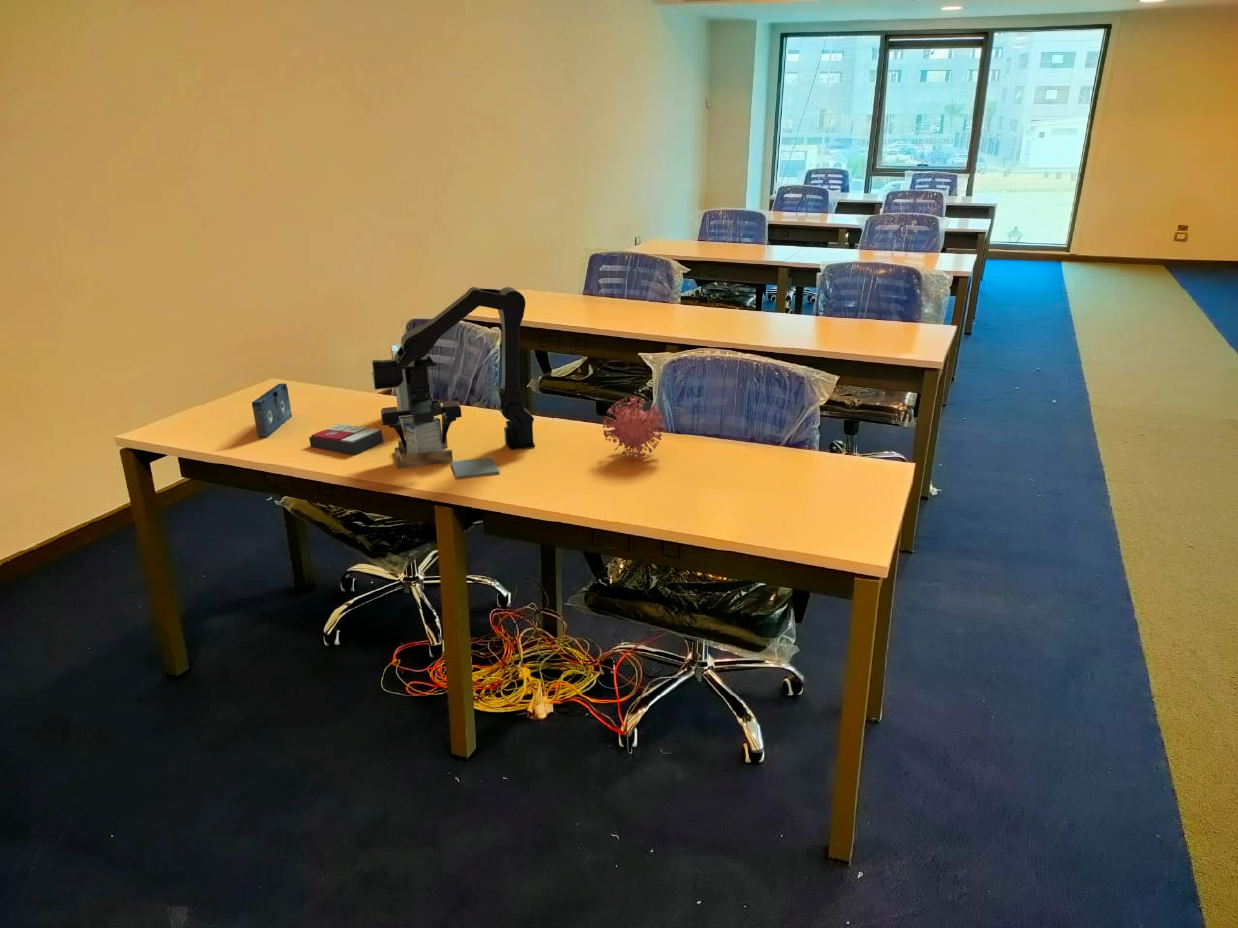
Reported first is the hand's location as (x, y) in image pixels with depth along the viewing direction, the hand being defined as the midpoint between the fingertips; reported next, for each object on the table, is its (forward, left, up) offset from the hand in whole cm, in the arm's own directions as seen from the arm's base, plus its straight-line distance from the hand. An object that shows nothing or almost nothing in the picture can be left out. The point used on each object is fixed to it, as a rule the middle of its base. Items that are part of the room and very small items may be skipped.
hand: (424, 445), depth 212 cm
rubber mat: (-10, +12, -3) cm, 16 cm away
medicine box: (0, 0, -2) cm, 2 cm away
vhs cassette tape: (+37, -37, -3) cm, 52 cm away
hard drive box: (0, -32, -3) cm, 32 cm away
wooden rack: (0, 0, -3) cm, 3 cm away
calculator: (+18, -16, -4) cm, 25 cm away
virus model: (-49, +16, -3) cm, 52 cm away
